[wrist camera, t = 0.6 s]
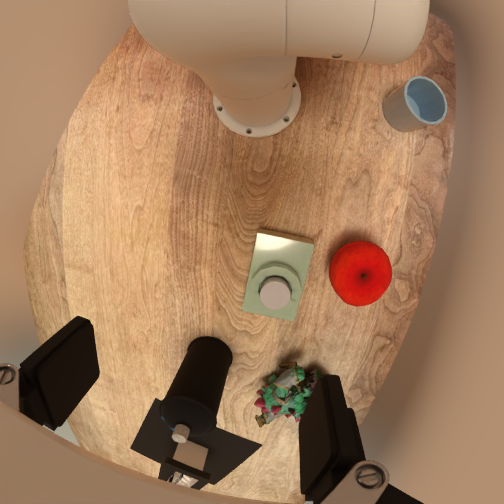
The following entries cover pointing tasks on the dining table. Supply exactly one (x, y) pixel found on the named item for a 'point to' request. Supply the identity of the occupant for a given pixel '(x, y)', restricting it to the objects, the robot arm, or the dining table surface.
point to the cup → (415, 105)
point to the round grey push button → (275, 293)
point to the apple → (360, 273)
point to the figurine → (286, 394)
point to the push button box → (278, 270)
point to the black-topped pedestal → (190, 452)
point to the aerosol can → (197, 389)
